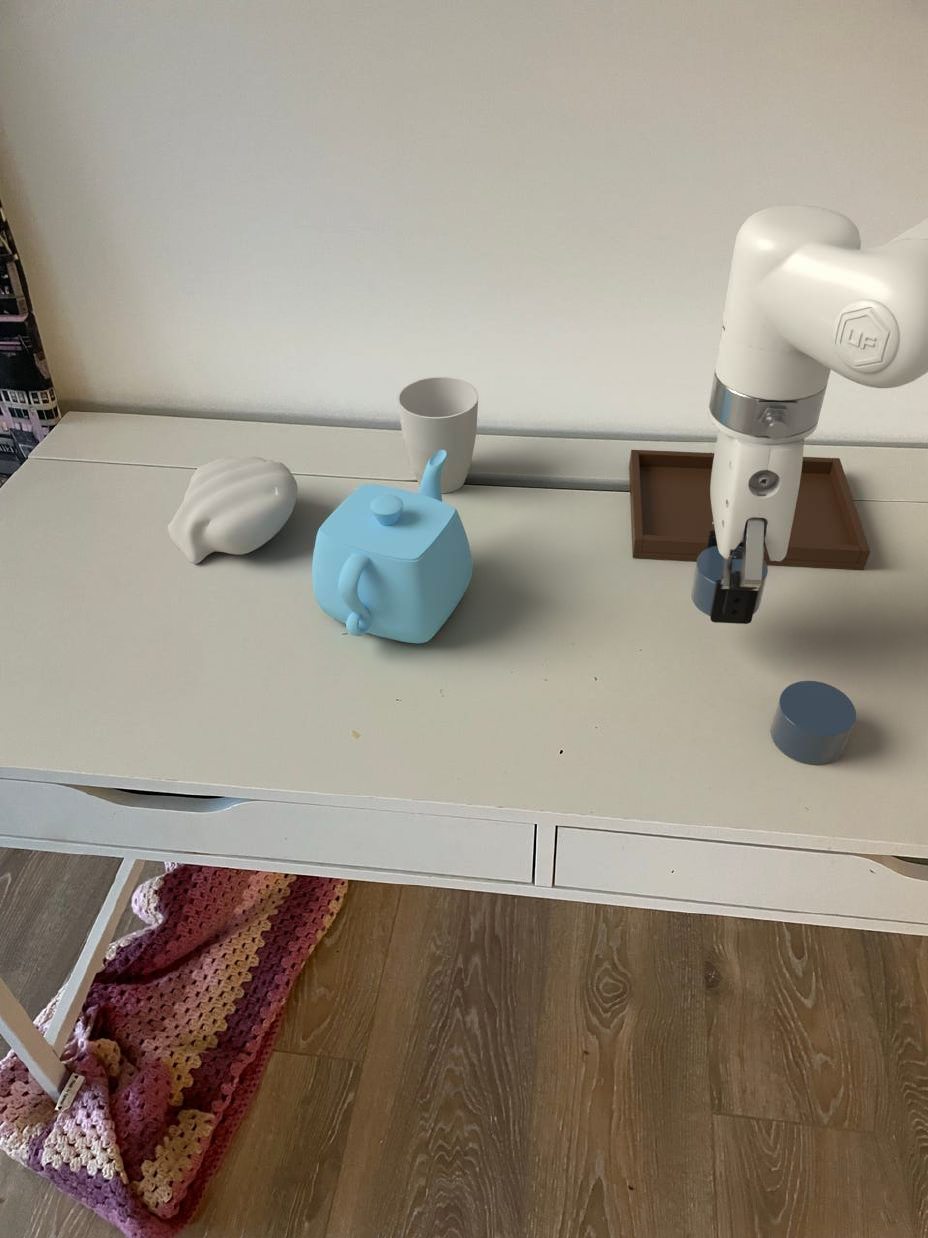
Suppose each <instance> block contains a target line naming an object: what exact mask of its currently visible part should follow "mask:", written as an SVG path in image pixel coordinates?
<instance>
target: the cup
mask: <svg viewBox="0 0 928 1238" xmlns="http://www.w3.org/2000/svg"><path fill="white" fill-rule="evenodd" d="M396 400H397V407H398V413H399V421H400V428H401V434H402V440H403V443H404V447H405V450H406V455H407V457H408V461H409V464H410V467H411V470H412V472H413V474H414V477H415V478H416V481H417V483H418V485H419V486H420V484H421V481H422V478H423V475H424V472H425V469H426V466H427V464H428V461H429V460H430V458H431V457H432V456H433V455H434V454H435V453H436V452H437V451H439V450H445V451H446V454H447V455H446V459H445V462H444V465H443V468H442V472H441V482H440V484H441V494H449V493H452V492H455V491H457V490H459V489H461V487H463V485H465V481H466V479H467V476H468V474H469V470H470V468H471V464H472V461H473V455H474V449H475V443H476V438H477V429H478V411H479V393H478V391H477V389H476V388H475V386H474V385H472V384H470V383H468V382H467V381H465V380H463V379H459V378H455V377H449V376H432V377H431V376H430V377H425V378H421V379H418V380H414V381H412V382H410V383H408V384H406V385H405V386H404V387H402V389H401V390H400V391H398V394H397V397H396Z"/></svg>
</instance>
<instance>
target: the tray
mask: <svg viewBox="0 0 928 1238" xmlns="http://www.w3.org/2000/svg"><path fill="white" fill-rule="evenodd" d="M714 454H715V452H696V451H676V450H675V451H673V450H652V449H649V450H648V449H631V450H630V457H629V464H628V475H629V477H628V478H629V500H630V501H629V503H630V526H631V528H630V529H631V554H632V555H631V556H632V558H633V559H649V560H666V561H667V560H668V561H686V562H697V558H698V556H699V555H700V554H701V553H702V552H703V551H704V550H706V549H707V543H708V537H709V532H710V530H711V531H715V529H713V528H712V520H713V513H712V506H711V496H710V485H711V474H712V466H713V460H714ZM870 554H871V549H870V546H869V543H868V539H867V536H866V533H865V531H864V528H863V524H862V522H861V519H860V516H859V512H858V509H857V507H856V503H855V500H854V498H853V495H852V491H851V489H850V485H849V483H848V479H847V476H846V473H845V471H844V467H843V465H842V461H841V458H839V457H821V456H820V457H818V456H803V461H802V470H801V477H800V484H799V490H798V496H797V502H796V507H795V513H794V518H793V523H792V528H791V533H790V539H789V544H788V549H787V553H786V556H785V558H784V559H783V560H782V561H780V562H777V561H770V558H769V554H768V551H767V547H766V544H765V551H764V558H763V559H764V561H765V562H766V564H767V566H781V567H782V566H784V567H799V568H801V567H803V568H821V569H841V570H860V571H863V570H865V567H866V565H867V563H868V560H869V557H870Z"/></svg>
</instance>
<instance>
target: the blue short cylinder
mask: <svg viewBox="0 0 928 1238" xmlns="http://www.w3.org/2000/svg"><path fill="white" fill-rule="evenodd" d="M737 548H743V547H741V546H737ZM723 559H724V557H723V556H722V555H721V554H720V553H719V550H718V545H717V546H713V547H710V548H708V549H706V550H704V551H703V552H702V553H701V554H700V555H699V556H698V558H697V561H695V562H696V564H695V569H694V574H693V579H692V585H691V593H690V597H691V601H692V603H693V604H694V606H695V607H696V608H697V609H698V611H700V612H702V613H703V614H704V615H706V616H709V617H710V613H711V608H712V602H713V597H714V592H715V587H716V581H717V580H721V576H722V568H723ZM768 567H769V566H768V565H767V564H766V562H765V561H764V559H763V566H762V582H761V586H760V587H759V591H758V595H757V600H756V604H755V608H754V613H753V615H755V614H756V613H757V611H758V610H759V609H760V606H761V602H762V600H763V599H762V598H763V594H764V590H765V586H766V582H767V577H768V575H769V574H768V572H769V568H768ZM741 569H742V559H733V565H732V573H733V572H734V571H741Z"/></svg>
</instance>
